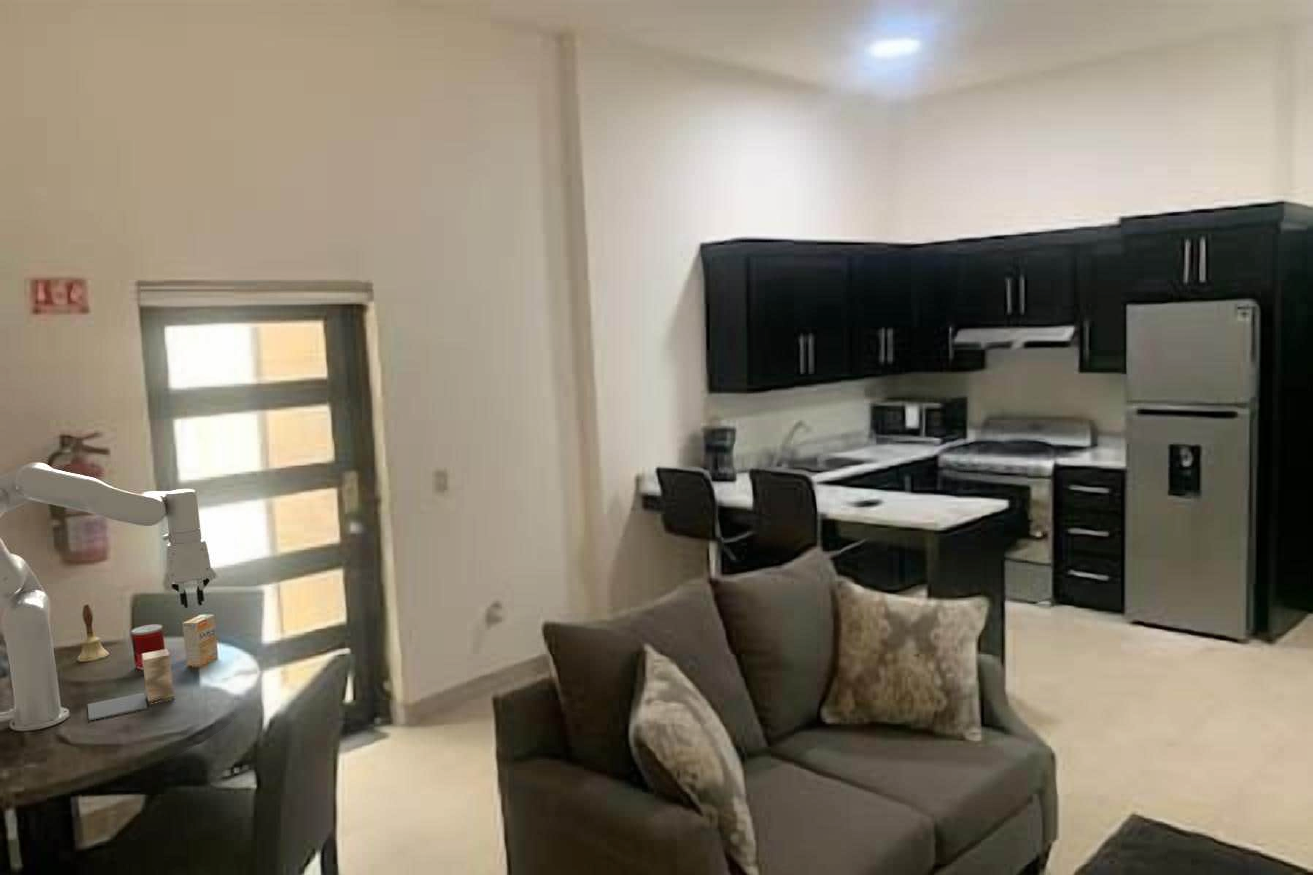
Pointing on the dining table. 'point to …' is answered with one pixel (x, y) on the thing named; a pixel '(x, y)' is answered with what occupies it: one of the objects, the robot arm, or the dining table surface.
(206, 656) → the supplement box
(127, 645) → the dining table surface
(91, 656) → the hand bell
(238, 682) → the dining table surface
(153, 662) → the maple block
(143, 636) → the canned food
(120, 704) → the mat
